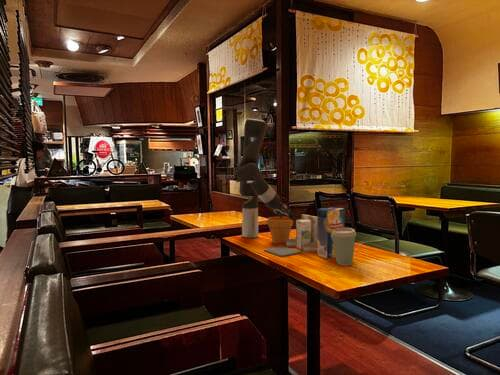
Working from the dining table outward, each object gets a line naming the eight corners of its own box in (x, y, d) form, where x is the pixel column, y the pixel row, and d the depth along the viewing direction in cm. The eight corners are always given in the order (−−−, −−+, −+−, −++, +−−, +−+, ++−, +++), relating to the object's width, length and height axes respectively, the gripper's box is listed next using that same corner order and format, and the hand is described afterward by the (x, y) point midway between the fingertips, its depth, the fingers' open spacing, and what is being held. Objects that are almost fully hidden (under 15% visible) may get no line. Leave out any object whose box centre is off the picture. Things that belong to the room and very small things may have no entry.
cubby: (286, 246, 185) (286, 216, 184) (303, 243, 192) (302, 214, 190) (305, 252, 173) (305, 220, 172) (322, 248, 180) (322, 217, 179)
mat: (264, 251, 177) (264, 249, 177) (282, 247, 184) (282, 246, 184) (281, 257, 165) (281, 255, 165) (301, 253, 172) (301, 251, 172)
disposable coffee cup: (352, 268, 146) (352, 232, 145) (327, 264, 152) (327, 230, 151) (359, 262, 155) (359, 228, 154) (335, 259, 161) (335, 226, 160)
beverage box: (344, 254, 168) (344, 208, 166) (327, 258, 162) (327, 210, 160) (334, 251, 174) (334, 207, 172) (317, 255, 168) (317, 209, 166)
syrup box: (305, 246, 186) (305, 218, 185) (311, 248, 180) (311, 220, 179) (295, 247, 184) (295, 219, 183) (301, 249, 178) (301, 221, 177)
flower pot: (264, 239, 203) (264, 217, 202) (287, 237, 207) (287, 215, 206) (272, 245, 189) (272, 221, 188) (297, 243, 193) (297, 219, 192)
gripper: (282, 191, 163) (301, 213, 171) (264, 189, 175) (282, 210, 182) (273, 203, 161) (292, 225, 168) (255, 200, 173) (274, 221, 180)
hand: (287, 217), depth 175 cm, fingers open, 8 cm apart
